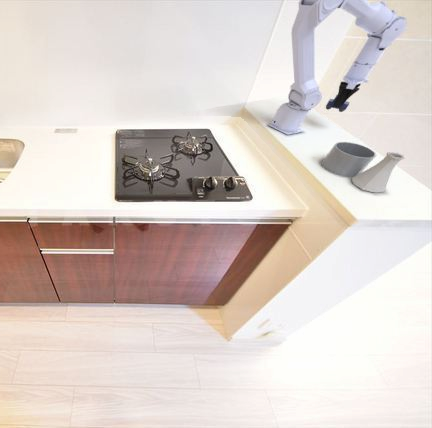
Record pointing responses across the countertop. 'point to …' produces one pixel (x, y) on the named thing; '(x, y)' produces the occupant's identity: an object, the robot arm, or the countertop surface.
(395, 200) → the countertop surface
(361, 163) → the steel cup
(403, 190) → the countertop surface
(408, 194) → the countertop surface
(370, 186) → the flask
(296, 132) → the robot arm
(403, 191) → the countertop surface
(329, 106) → the toy car
